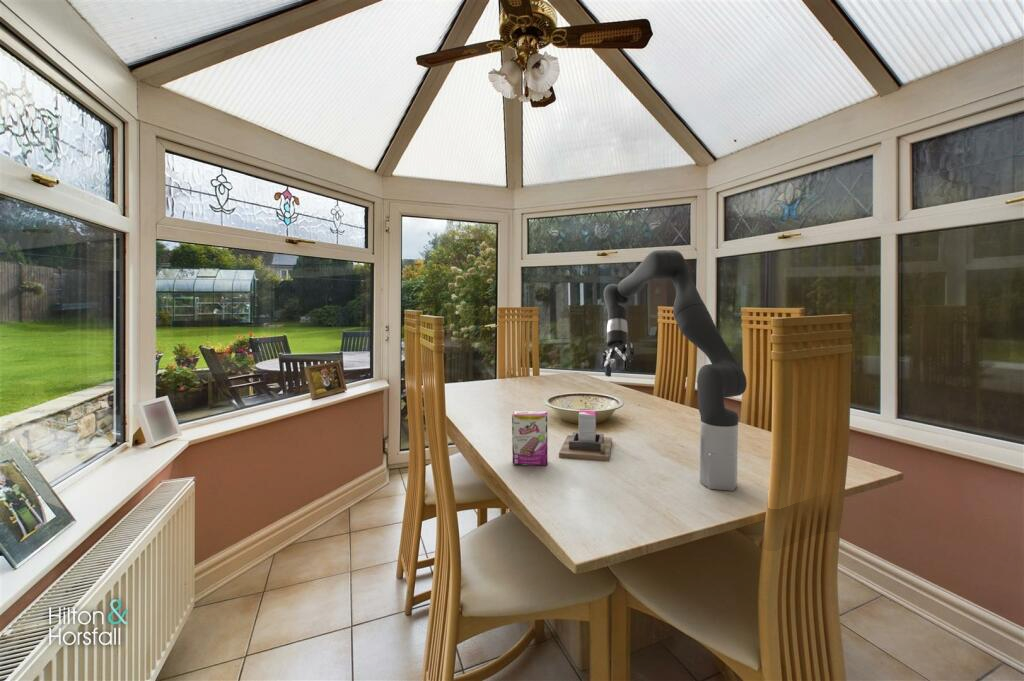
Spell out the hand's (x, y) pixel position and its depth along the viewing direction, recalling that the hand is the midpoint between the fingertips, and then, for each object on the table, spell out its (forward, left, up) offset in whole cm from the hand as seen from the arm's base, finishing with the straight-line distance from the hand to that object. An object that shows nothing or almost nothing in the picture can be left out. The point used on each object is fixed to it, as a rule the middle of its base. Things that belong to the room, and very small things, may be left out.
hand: (617, 374), depth 155 cm
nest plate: (-12, +10, -25) cm, 29 cm away
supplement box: (-12, +10, -23) cm, 28 cm away
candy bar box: (-29, +26, -25) cm, 46 cm away
